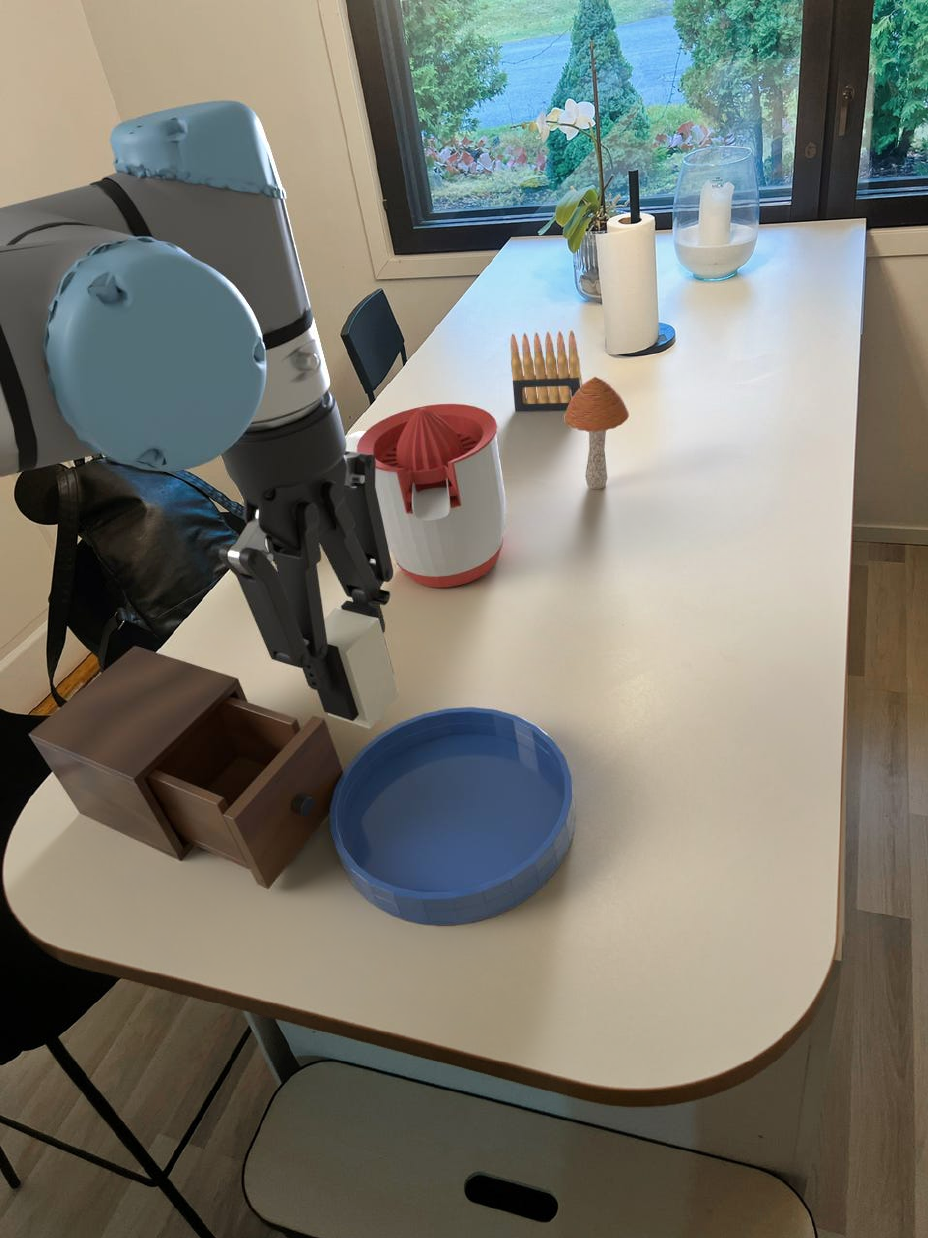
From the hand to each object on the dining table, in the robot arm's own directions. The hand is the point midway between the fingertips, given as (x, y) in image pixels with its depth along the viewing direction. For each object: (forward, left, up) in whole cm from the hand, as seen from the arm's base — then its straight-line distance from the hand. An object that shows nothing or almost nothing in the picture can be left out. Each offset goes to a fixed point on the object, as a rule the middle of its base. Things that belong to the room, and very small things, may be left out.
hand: (359, 692), depth 66 cm
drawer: (-5, +11, -14) cm, 19 cm away
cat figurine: (+49, +36, -15) cm, 63 cm away
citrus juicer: (+35, +16, -15) cm, 41 cm away
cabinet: (-5, +23, -15) cm, 28 cm away
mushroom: (+57, +6, -15) cm, 59 cm away
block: (0, 0, -1) cm, 1 cm away
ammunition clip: (+77, +23, -15) cm, 82 cm away
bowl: (+2, -4, -15) cm, 16 cm away
